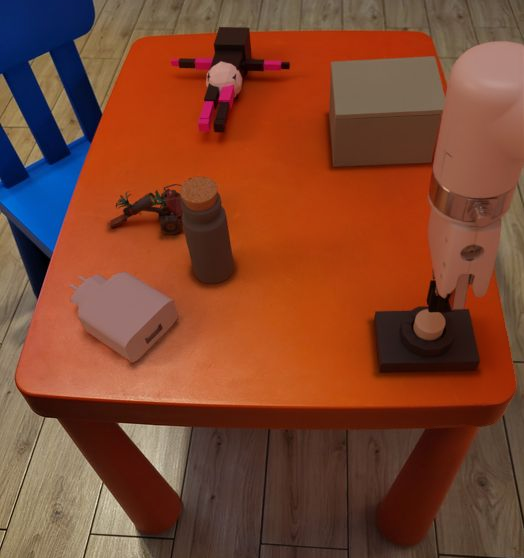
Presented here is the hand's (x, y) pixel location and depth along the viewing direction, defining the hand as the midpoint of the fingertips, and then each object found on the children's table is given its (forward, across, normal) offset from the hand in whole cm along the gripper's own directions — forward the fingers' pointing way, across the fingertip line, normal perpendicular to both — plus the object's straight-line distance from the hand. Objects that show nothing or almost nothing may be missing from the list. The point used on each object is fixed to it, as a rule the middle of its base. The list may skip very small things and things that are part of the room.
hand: (440, 306), depth 71 cm
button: (+5, 0, +1) cm, 5 cm away
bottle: (+8, +14, +29) cm, 33 cm away
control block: (+8, 0, +1) cm, 8 cm away
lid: (-1, +42, +2) cm, 42 cm away
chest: (+8, +42, +3) cm, 43 cm away
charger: (+7, +6, +42) cm, 43 cm away
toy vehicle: (+7, +24, +38) cm, 46 cm away
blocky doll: (+7, +54, +29) cm, 62 cm away
